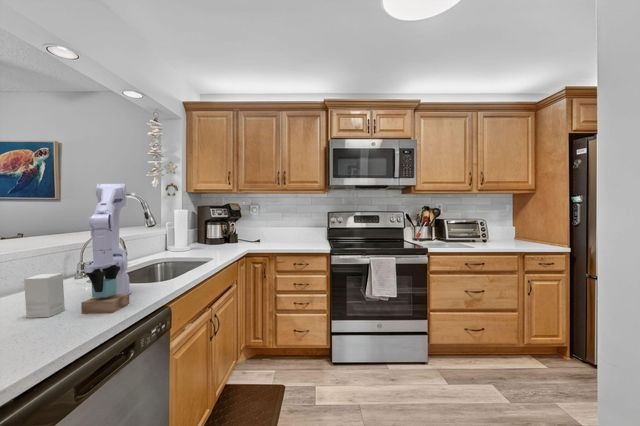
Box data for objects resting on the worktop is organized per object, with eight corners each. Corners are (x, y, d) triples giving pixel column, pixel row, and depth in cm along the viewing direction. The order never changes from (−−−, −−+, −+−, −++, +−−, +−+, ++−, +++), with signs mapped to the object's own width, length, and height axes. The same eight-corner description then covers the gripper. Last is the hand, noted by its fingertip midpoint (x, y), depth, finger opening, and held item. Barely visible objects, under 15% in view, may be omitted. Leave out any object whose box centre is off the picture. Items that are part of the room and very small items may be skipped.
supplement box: (65, 310, 117) (63, 272, 116) (49, 317, 109) (47, 277, 109) (43, 311, 117) (41, 273, 116) (25, 318, 109) (23, 278, 109)
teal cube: (102, 293, 120) (102, 278, 120) (116, 293, 120) (116, 278, 120) (92, 297, 115) (91, 282, 115) (106, 297, 115) (105, 282, 115)
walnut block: (101, 305, 123) (100, 294, 122) (129, 305, 123) (129, 293, 122) (81, 314, 113) (81, 302, 112) (112, 314, 113) (112, 301, 112)
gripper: (98, 252, 109) (100, 295, 110) (127, 246, 124) (129, 284, 124) (77, 252, 110) (79, 295, 110) (109, 247, 124) (110, 284, 125)
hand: (104, 289), depth 117 cm, fingers closed on teal cube, 5 cm apart
